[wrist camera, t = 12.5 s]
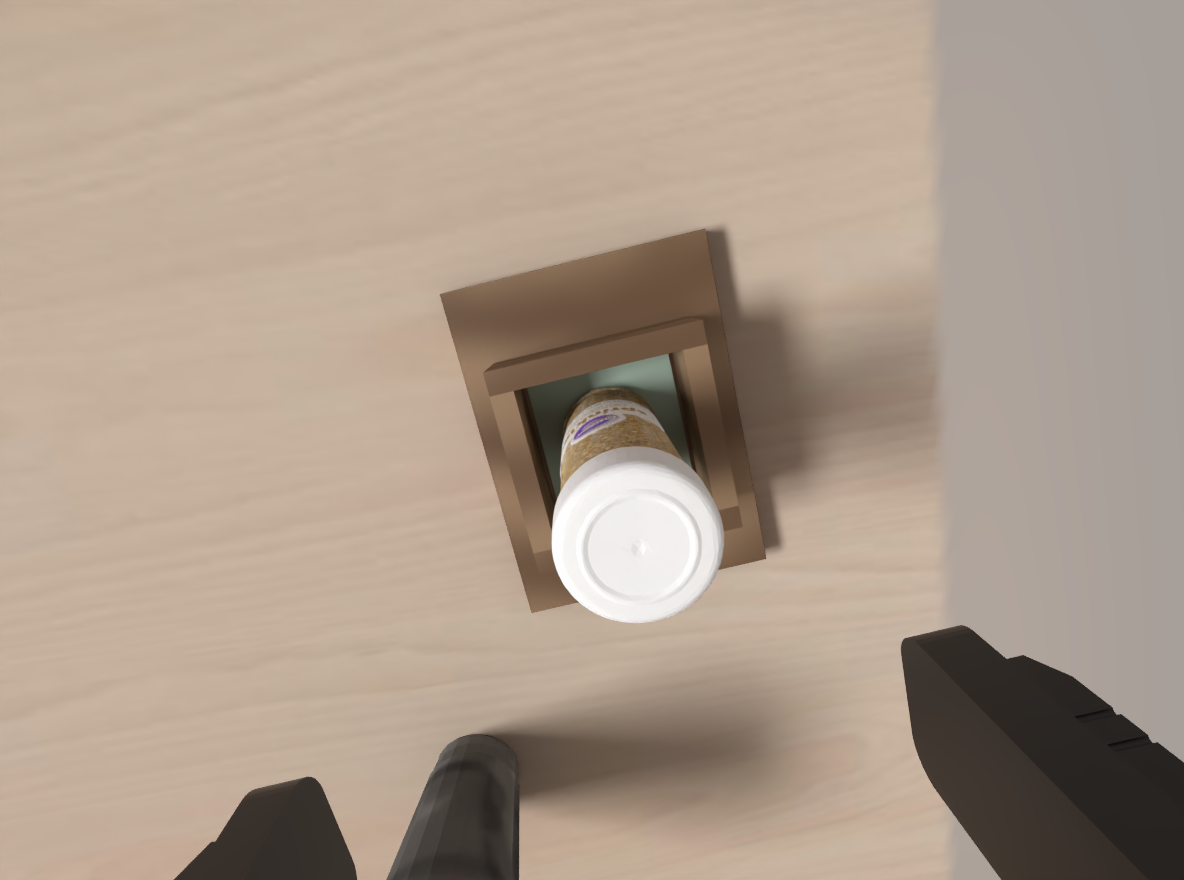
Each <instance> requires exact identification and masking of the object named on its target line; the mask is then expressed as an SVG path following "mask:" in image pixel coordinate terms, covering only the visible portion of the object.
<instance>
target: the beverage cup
mask: <svg viewBox="0 0 1184 880" xmlns="http://www.w3.org/2000/svg"><path fill="white" fill-rule="evenodd" d="M387 880H519V783H518V763H517V760H516V757H515V755H514V753H513V752H512V751H511V750H510V748H509V747H508V746H507V745H506V744H504V743H503V742H501V741H499V740H498V739H496V738H493V737H489V736H486V735H468V736H465V737H461V738H458V739H456V740H455V741H453V742H452V743H450V744H448V745H447V747H446V748H445V749H444V750H443V751H442V753H441V754H440V757H439V760H438V762H437V764H436V766H435V768H434V770H433V772H432V773H431V775H430V777H429V779H428V782H427V784H426V787H425V789H424V791H423V794H422V796H421V799H420V801H419V803H418V806H417V808H416V810H415V813H414V815H413V818H412V820H411V822H410V825H409V827H408V830H407V832H406V834H405V837H404V839H403V842H402V844H401V846H400V849H399V851H398V854H397V856H396V858H395V861H394V863H393V865H392V868H391V870H390V873H389V875H388V877H387Z"/></svg>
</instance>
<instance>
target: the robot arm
mask: <svg viewBox="0 0 1184 880" xmlns="http://www.w3.org/2000/svg"><path fill="white" fill-rule="evenodd" d="M901 655H902V663H903V670H904V677H905V685H906V692H907V699H908V706H909V713H910V721H911V728H912V735H913V740H914V744H915V747H916V750H917V753H918V756H919V759H920V761H921V763H922V766H923V768H924V770H925V772H926V774H927V776H928V778H929V780H930V781H931V783H932V785H933V786H934V788H935V789H936V791H937V792H938V794H939V795H940V796H941V798H942V799H943V800H944V802H945V803H946V804H947V806H948V807H949V809H950V810H951V811H952V813H953V814H954V815H955V817H956V818H957V820H958V821H959V822H960V824H961V825H962V826H963V828H964V829H965V831H966V832H967V833H968V835H969V836H970V837H971V839H972V840H973V841H974V843H975V844H976V845H977V847H978V848H979V850H980V851H981V852H982V854H983V855H984V856H985V858H986V859H987V861H988V862H989V863H990V865H991V866H992V868H993V869H994V870H995V872H996V873H997V874H998V876H999V877H1000V878H1001V880H1184V763H1183V762H1182V761H1181V760H1180V759H1178V758H1177V757H1176V756H1175V755H1173V754H1172V753H1170V752H1169V751H1168V750H1167V749H1165V748H1164V747H1163V746H1161V745H1160V744H1159V743H1158V742H1157V743H1152V742H1151V741H1150V739H1149V737H1148V735H1147V734H1146V733H1145V732H1143V731H1142V730H1141V729H1140V728H1138V727H1137V726H1136V725H1134V724H1133V723H1132V722H1130V721H1129V720H1128V719H1127V718H1125V717H1124V716H1123V715H1121V714H1120V715H1116V714H1115V712H1114V710H1113V708H1112V707H1111V706H1110V705H1108V704H1107V703H1106V702H1105V701H1103V700H1102V699H1101V698H1099V697H1098V696H1097V695H1096V694H1094V693H1093V692H1092V691H1090V690H1089V689H1088V688H1086V687H1085V686H1084V685H1083V684H1081V683H1080V682H1079V681H1077V680H1076V679H1075V678H1074V677H1072V676H1070V675H1068V674H1065V673H1063V672H1061V671H1058V670H1056V669H1053V668H1051V667H1049V666H1047V665H1044V664H1042V663H1040V662H1038V661H1035V660H1033V659H1031V658H1029V657H1026V656H1024V655H1022V656H1018V657H1013V658H1009V659H1006V658H1005V657H1003V656H1002V655H1001V654H1000V653H999V652H998V651H996V650H995V649H994V648H993V647H992V646H990V645H989V644H988V643H987V642H986V641H984V640H983V639H982V638H981V637H980V636H979V635H977V634H976V633H975V632H974V631H973V630H971V629H970V628H968V627H966V626H962V625H960V626H956V627H951V628H947V629H943V630H938V631H934V632H930V633H926V634H921V635H917V636H913V637H909V638H905V639H904V640H903V642H902V645H901ZM174 880H357V875H356V870H355V865H354V862H353V860H352V857H351V855H350V853H349V850H348V848H347V845H346V843H345V841H344V838H343V836H342V834H341V831H340V829H339V826H338V824H337V822H336V819H335V817H334V814H333V812H332V810H331V807H330V805H329V803H328V800H327V798H326V795H325V793H324V791H323V789H322V787H321V785H320V783H319V782H318V781H317V780H316V779H315V778H312V777H305V778H301V779H296V780H292V781H288V782H284V783H279V784H275V785H271V786H266V787H262V788H258V789H254V790H252V791H251V792H249V793H248V794H247V795H246V796H245V797H244V798H243V800H242V801H241V803H240V804H239V806H238V807H237V809H236V810H235V812H234V813H233V815H232V817H231V818H230V820H229V821H228V823H227V824H226V826H225V828H224V829H223V831H222V832H221V834H220V835H219V837H218V838H217V840H216V841H215V842H211V843H210V844H209V845H208V846H207V847H206V848H205V849H204V850H203V851H202V852H201V853H200V854H199V855H198V856H197V857H196V858H195V859H194V860H193V861H192V862H191V863H190V864H189V865H188V866H187V867H186V868H185V869H184V870H183V871H182V872H181V873H180V874H179V875H178V876H177V877H176V878H175V879H174Z"/></svg>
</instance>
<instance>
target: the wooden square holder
mask: <svg viewBox="0 0 1184 880" xmlns="http://www.w3.org/2000/svg"><path fill="white" fill-rule="evenodd" d="M440 296H441V300H442V303H443V307H444V310H445V314H446V317H447V321H448V324H449V328H450V331H451V335H452V338H453V342H454V345H455V349H456V352H457V355H458V359H459V362H460V366H461V369H462V373H463V376H464V380H465V383H466V387H467V390H468V394H469V397H470V401H471V404H472V408H473V411H474V414H475V418H476V421H477V425H478V428H479V432H480V435H481V439H482V442H483V446H484V449H485V453H486V456H487V460H488V463H489V467H490V470H491V473H492V477H493V480H494V484H495V487H496V491H497V494H498V498H499V501H500V505H501V508H502V512H503V515H504V519H505V522H506V526H507V529H508V532H509V536H510V539H511V543H512V546H513V550H514V553H515V557H516V560H517V564H518V567H519V571H520V574H521V578H522V581H523V585H524V588H525V591H526V595H527V598H528V602H529V605H530V609H531V612H532V613H534V612H538V611H542V610H547V609H551V608H555V607H560V606H564V605H568V604H573V603H577V602H578V601H577V600H576V599H575V598H574V597H573V596H572V595H571V594H570V592H569V591H568V590H567V588H566V587H565V586H564V584H563V583H562V581H561V579H560V577H559V575H558V572H557V570H556V567H555V563H554V560H553V554H552V525H553V515H554V508H555V505H556V501H557V499H558V496H559V494H560V492H561V476H560V466H561V454H562V444H563V440H562V432H563V429H562V428H563V423H564V420H565V418H566V416H567V413H568V412H569V410H570V408H571V407H572V405H573V404H574V403H575V402H576V401H577V400H578V399H579V398H580V397H581V396H582V395H583V394H586V393H588V392H589V391H591V390H594V389H599V388H604V387H622V388H626V389H629V390H631V391H633V392H635V393H636V394H638V395H640V396H641V397H643V398H644V399H645V400H646V401H647V402H648V403H649V404H650V406H651V407H652V409H653V410H654V413H655V415H656V417H657V420H658V421H659V423H660V425H661V426H662V428H663V429H664V431H665V433H666V435H667V436H668V438H669V440H670V441H671V443H672V444H673V446H674V447H675V449H676V450H677V452H678V454H679V455H680V457H681V458H682V460H683V461H684V462H685V463H686V464H688V465H689V466H690V467H691V468H692V469H693V470H694V471H695V472H696V473H697V475H698V476H699V477H700V479H701V480H702V482H703V483H704V485H705V486H706V488H707V489H708V491H709V493H710V494H711V496H712V498H713V500H714V502H715V504H716V506H717V509H718V511H719V514H720V516H721V519H722V524H723V529H724V549H723V556H722V559H721V564H720V566H719V569H718V570H720V569H724V568H728V567H733V566H737V565H741V564H746V563H750V562H754V561H759V560H763V559H766V555H765V549H764V544H763V539H762V533H761V528H760V522H759V517H758V512H757V506H756V501H755V495H754V490H753V485H752V479H751V474H750V469H749V463H748V458H747V452H746V447H745V442H744V436H743V431H742V425H741V420H740V415H739V409H738V404H737V398H736V393H735V388H734V382H733V377H732V372H731V366H730V361H729V355H728V350H727V345H726V339H725V334H724V328H723V323H722V318H721V312H720V307H719V302H718V296H717V291H716V285H715V280H714V275H713V269H712V264H711V258H710V253H709V248H708V242H707V237H706V232H705V229H702V230H698V231H694V232H690V233H686V234H682V235H678V236H674V237H669V238H665V239H661V240H657V241H653V242H649V243H645V244H641V245H637V246H633V247H629V248H625V249H621V250H617V251H613V252H609V253H605V254H601V255H596V256H592V257H588V258H584V259H580V260H576V261H572V262H568V263H564V264H560V265H556V266H552V267H548V268H544V269H540V270H536V271H532V272H528V273H523V274H519V275H515V276H511V277H507V278H503V279H499V280H495V281H491V282H487V283H483V284H479V285H475V286H471V287H467V288H463V289H459V290H455V291H450V292H446V293H442V294H440Z"/></svg>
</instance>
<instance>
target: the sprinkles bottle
mask: <svg viewBox="0 0 1184 880" xmlns="http://www.w3.org/2000/svg"><path fill="white" fill-rule="evenodd" d="M562 429H563V432H562V440H563V444H562V454H561V466H560V476H561V492H560V494H559V496H558V499H557V501H556V505H555V508H554V515H553V525H552V554H553V560H554V563H555V567H556V570H557V572H558V575H559V577H560V579H561V581H562V583H563V584H564V586H565V587H566V588H567V590H568V591H569V592H570V594H571V595H572V596H573V597H574V598H575V599H576V600H577V601H578V602H579V603H581V604H582V605H583V606H584V607H586V608H587V609H589V610H590V611H592V612H594V613H596V614H598V615H600V616H602V617H605V618H608V619H611V620H615V621H620V622H627V623H646V622H653V621H657V620H661V619H664V618H667V617H670V616H672V615H675V614H677V613H679V612H681V611H682V610H684V609H685V608H687V607H688V606H690V605H691V604H692V603H694V602H695V601H696V600H697V599H698V598H699V597H700V596H701V595H702V594H703V593H704V592H705V591H706V590H707V588H708V587H709V586H710V584H711V583H712V581H713V579H714V578H715V575H716V573H717V571H718V569H719V566H720V564H721V559H722V556H723V549H724V529H723V524H722V519H721V516H720V514H719V511H718V509H717V506H716V504H715V502H714V500H713V498H712V496H711V494H710V493H709V491H708V489H707V488H706V486H705V485H704V483H703V482H702V480H701V479H700V477H699V476H698V475H697V473H696V472H695V471H694V470H693V469H692V468H691V467H690V466H689V465H688V464H686V463H685V462H684V461H683V460H682V458H681V457H680V455H679V454H678V452H677V450H676V449H675V447H674V446H673V444H672V443H671V441H670V440H669V438H668V436H667V435H666V433H665V431H664V429H663V428H662V426H661V425H660V423H659V421H658V420H657V417H656V415H655V413H654V410H653V409H652V407H651V406H650V404H649V403H648V402H647V401H646V400H645V399H644V398H643V397H641V396H640V395H638V394H636V393H635V392H633V391H631V390H629V389H626V388H622V387H604V388H599V389H594V390H591V391H589V392H588V393H586V394H583V395H582V396H581V397H580V398H579V399H578V400H577V401H576V402H575V403H574V404H573V405H572V407H571V408H570V410H569V412H568V413H567V416H566V418H565V420H564V423H563V428H562Z"/></svg>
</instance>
